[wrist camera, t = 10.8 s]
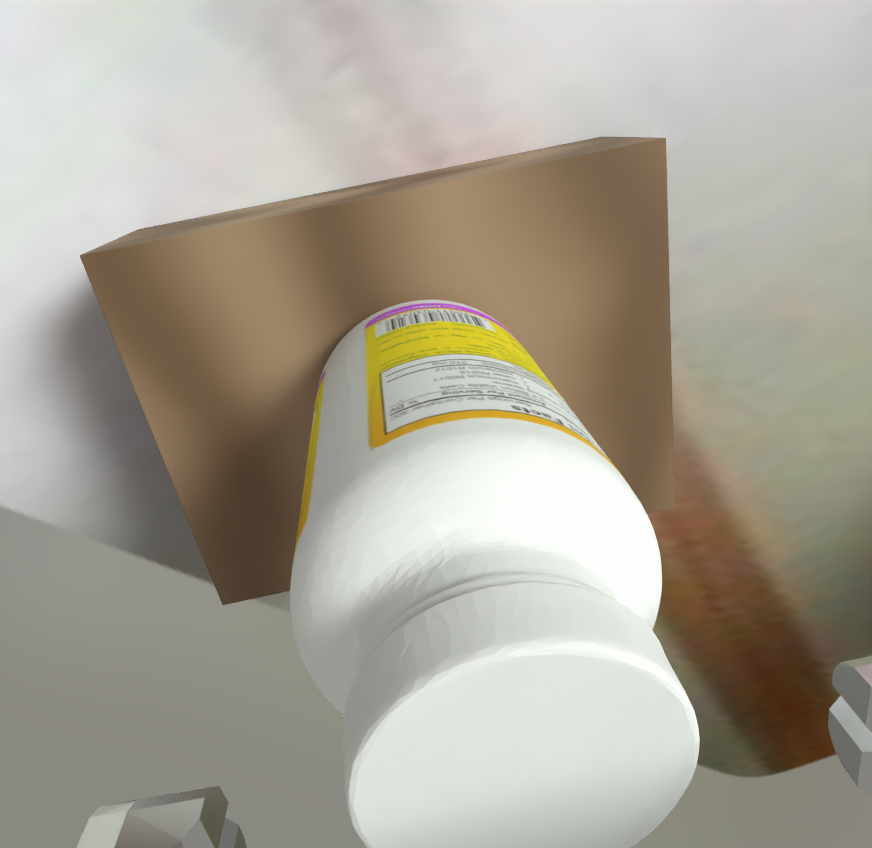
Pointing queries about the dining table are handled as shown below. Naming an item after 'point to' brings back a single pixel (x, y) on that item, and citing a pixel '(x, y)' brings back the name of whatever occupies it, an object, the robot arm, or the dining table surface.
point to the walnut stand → (379, 289)
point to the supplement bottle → (481, 599)
